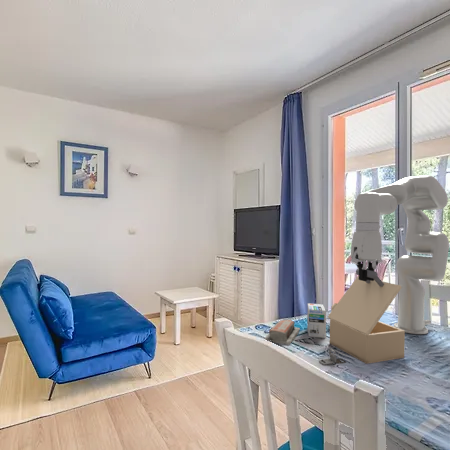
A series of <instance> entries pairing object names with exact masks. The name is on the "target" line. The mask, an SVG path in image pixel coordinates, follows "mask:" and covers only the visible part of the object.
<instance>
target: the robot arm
mask: <svg viewBox="0 0 450 450" xmlns="http://www.w3.org/2000/svg"><path fill="white" fill-rule="evenodd" d="M448 200H449V198H448V194H447V192H446V190H445V189H444V187H443V186H442V185H441V183H440V181H438V180H437V178H435V177H434V176H432V175H430V174H429V175H427V174H426V175H415V176H408V177H404V178H402V179H401V178H400V179H399V180H397V181H395V182H394V183H391V184H388V185H384V186H381V187H379V188H374V189H370V190H368V191H365V192H361V193H358V194H357V196H356V199H355V200H354V204H353V205H354V210H355V213H356V215H355V231H354V232H353V234H352V239H351V247H350V258H351V260H350V261H351V263H353V264H355V266H356V268H357V269H359V275H358V276H359V280H362V281H367V280H370V281H374V279H373V278H369V277H367V270H369V271H375V270H376V269H377V266H378V264H380V263H382V262H383V259H382V255H383V245H382V235H381V232H380V229H381V224H380V220H381V217H380V216H381V215H383V216H384V215H390V214H393V213H394V212H395V211H396V210H397V208H398V206H399V205H401V206H402V208H403V210H404V212H405V214H406V217H407V218H406V219H407V228H406V233H405V238H404V239H405V240H404V248H405V249H404V250H406V252H407V253H412V254H419V255H412V254H411V255H410V254H409V255H406V254H405V255H402V256H400V257H399V258H397V261H396V273H397V277H398V278H397V279H398V285H400V286H401V287H402V288H401V289H400V291H399V292H398V299H397V300H398V303H397V304H398V307H397V310H398V311H397V322H395V323H393V327H396V328H399V329H401V330H404V331H405V333H406V334H412V335H427V334H428V333H429V329H428V328H427V327H426V326H427V325H432V321H431V320H430V319H425V293H426V292H425V287H424V285H423V284H422V282H421V281H420V280H425V281H432V282H440V281H442V280H443V279H444V278H445V275H446V270H447V263H448V255H449V247H450V241H449V237H448V235H446V234H445V233H444V232H441V231H431V225H432V222H431V219H430V218H429V217H428V215H427V214H426V213H425V212H424V211H427V210H428V211H429V210H430V211H436V210H442V209H444V208H446V207H447V204H448ZM420 254H421V255H420ZM422 255H429V256H422ZM430 255H431V256H430ZM366 267H367V268H366Z"/></svg>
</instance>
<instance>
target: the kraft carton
mask: <svg viewBox="0 0 450 450" xmlns="http://www.w3.org/2000/svg"><path fill="white" fill-rule="evenodd" d="M405 333H406V332H405V331H404V330H401V329H399V328H396V327H394V325H390V324H388V323H385V322H382V321H381V320H379V321H378V322H377V324H376V325H375V327H374V328H373V330H372V331H371V333H370V334H369V335H365V334H363V333H361V332H359V331H356V330H354V329H352V328H350V327H347V326H345V325H343V324H341V323H338V322H336V321H334V320H332V319H330V320H329V344H330V345H332V346H333V347H335V348H337V349H339V350H340V351H343V352H344V353H346V354H347V355H350V356H351V357H353V358H355V359H357V360H358V361H361V363H364V364H366V365H368V364H374V363H381V362H386V361H393V360H399V359H404V358H405V344H406V343H405V342H406V341H405V340H406V337H405V335H406V334H405Z"/></svg>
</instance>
